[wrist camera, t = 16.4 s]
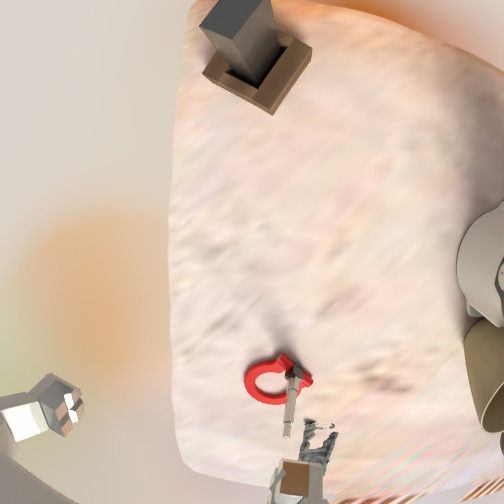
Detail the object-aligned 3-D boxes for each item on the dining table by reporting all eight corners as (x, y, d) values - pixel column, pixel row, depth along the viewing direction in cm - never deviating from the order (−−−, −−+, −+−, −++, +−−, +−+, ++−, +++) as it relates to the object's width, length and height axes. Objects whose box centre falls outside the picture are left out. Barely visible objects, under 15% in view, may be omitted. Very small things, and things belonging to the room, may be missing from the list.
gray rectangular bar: (281, 58, 31) (269, -7, 16) (259, 89, 33) (232, 39, 18) (260, 47, 31) (235, -19, 16) (238, 78, 33) (198, 26, 17)
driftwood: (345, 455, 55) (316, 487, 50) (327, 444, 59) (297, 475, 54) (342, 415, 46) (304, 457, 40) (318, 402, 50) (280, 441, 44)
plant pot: (476, 283, 36) (535, 335, 21) (523, 312, 36) (572, 358, 20) (427, 362, 41) (461, 431, 25) (478, 379, 40) (512, 436, 25)
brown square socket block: (310, 60, 32) (312, 47, 27) (272, 115, 34) (269, 109, 30) (249, 29, 31) (244, 15, 27) (212, 82, 34) (201, 73, 30)
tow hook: (272, 406, 48) (318, 380, 44) (259, 471, 35) (315, 450, 31) (234, 377, 47) (278, 346, 43) (210, 441, 34) (264, 415, 30)
